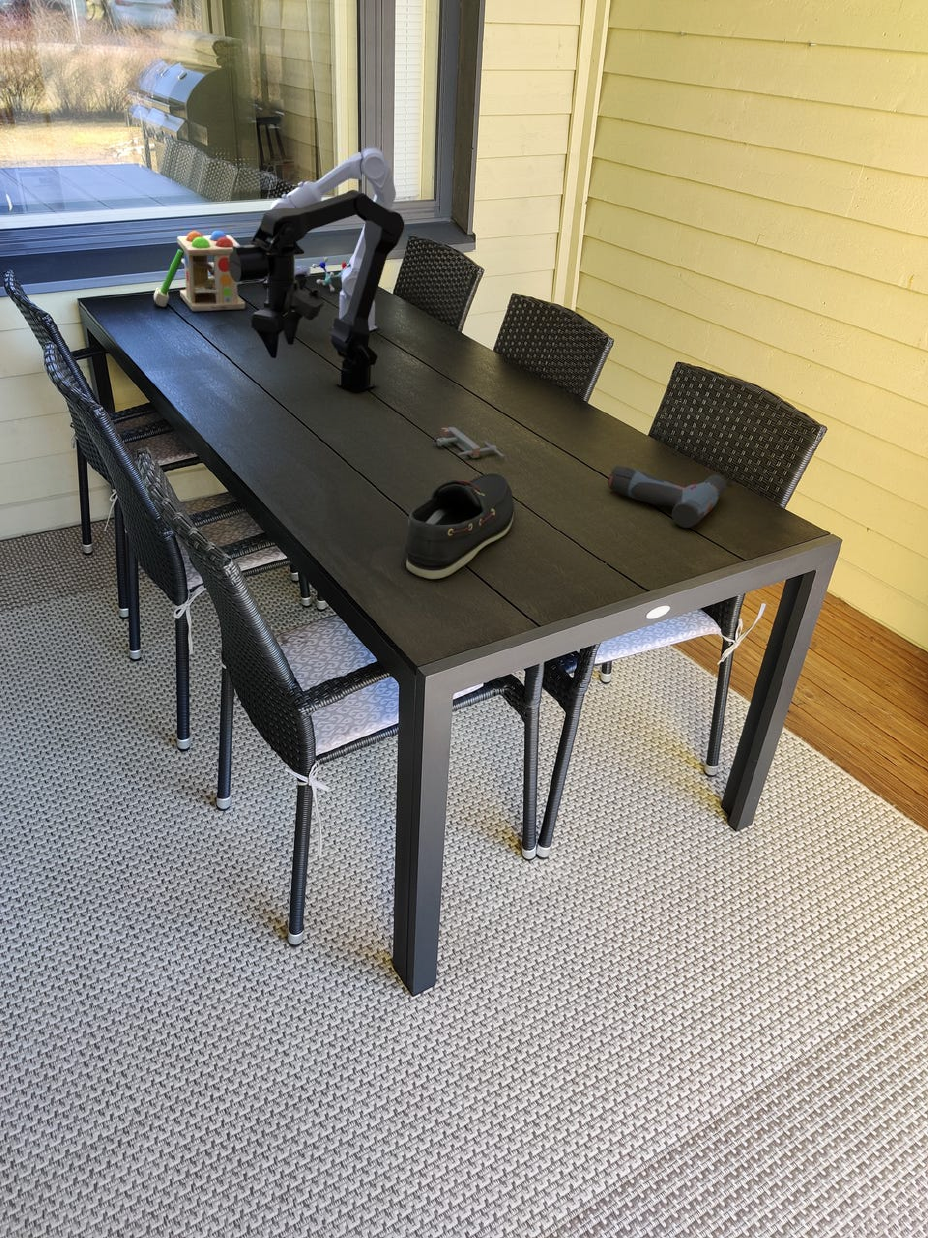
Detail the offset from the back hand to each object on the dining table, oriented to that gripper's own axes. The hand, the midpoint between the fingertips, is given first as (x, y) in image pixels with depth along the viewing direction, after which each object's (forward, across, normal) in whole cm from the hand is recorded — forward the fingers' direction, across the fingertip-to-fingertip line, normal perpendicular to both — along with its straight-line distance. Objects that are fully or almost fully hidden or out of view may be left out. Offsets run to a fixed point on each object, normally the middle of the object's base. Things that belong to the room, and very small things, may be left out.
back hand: (284, 305), depth 253 cm
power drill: (+6, +16, -119) cm, 120 cm away
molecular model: (+6, +30, +26) cm, 40 cm away
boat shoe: (+6, -28, -110) cm, 114 cm away
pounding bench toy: (+6, -12, +26) cm, 29 cm away
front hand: (-5, -25, -42) cm, 49 cm away
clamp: (+6, -5, -83) cm, 83 cm away
